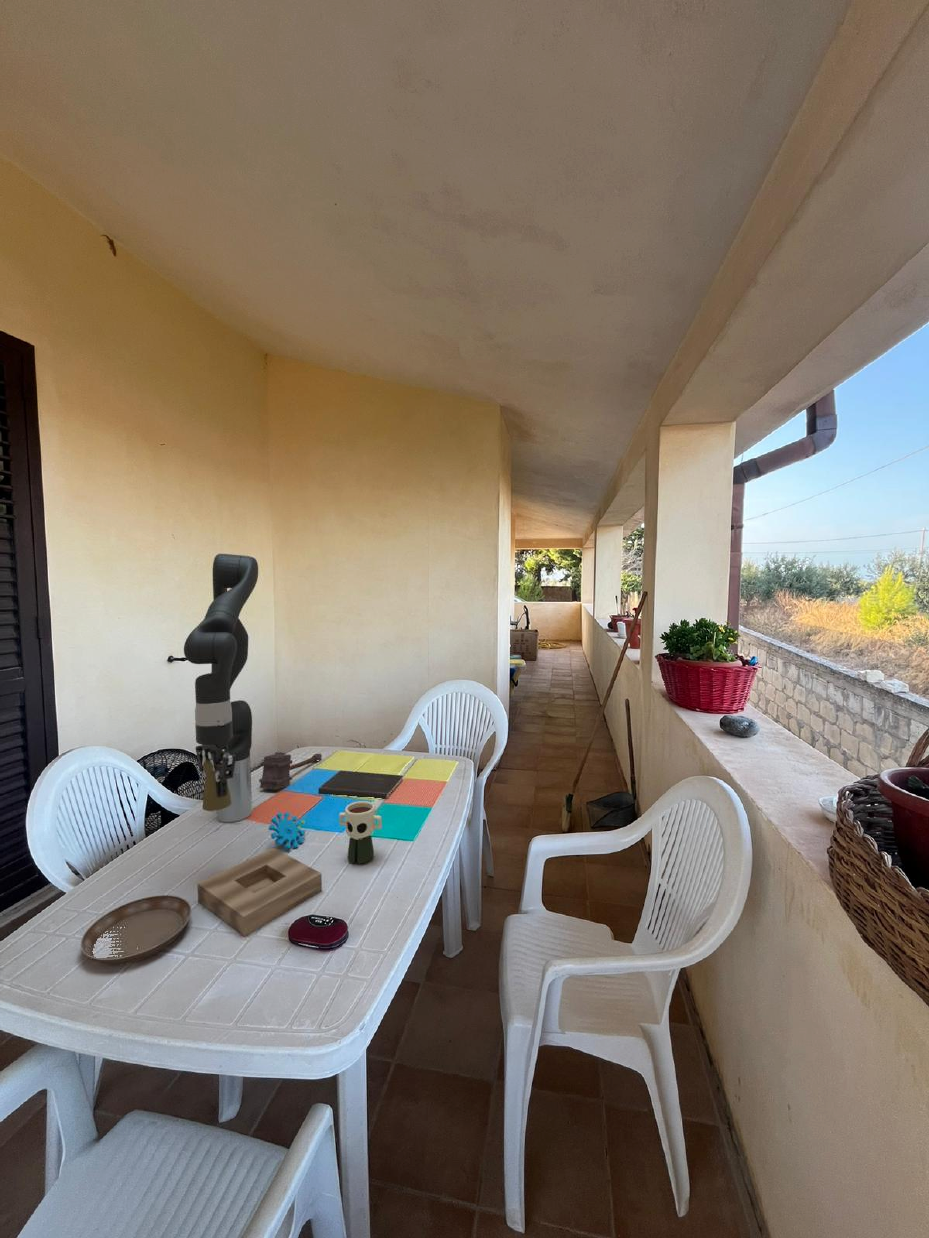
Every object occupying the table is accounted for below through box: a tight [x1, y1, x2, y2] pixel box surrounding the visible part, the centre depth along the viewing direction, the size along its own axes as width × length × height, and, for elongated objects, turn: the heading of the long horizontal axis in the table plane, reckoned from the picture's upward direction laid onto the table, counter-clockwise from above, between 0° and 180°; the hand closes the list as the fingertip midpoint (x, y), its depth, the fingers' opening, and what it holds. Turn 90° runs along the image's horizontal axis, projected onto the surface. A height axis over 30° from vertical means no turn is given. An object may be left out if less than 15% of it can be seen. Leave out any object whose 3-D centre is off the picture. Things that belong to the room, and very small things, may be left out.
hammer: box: [258, 753, 323, 791], centre depth 179 cm, size 7×33×10 cm, turn 166°
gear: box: [268, 811, 306, 850], centre depth 132 cm, size 11×6×10 cm
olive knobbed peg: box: [201, 759, 231, 812], centre depth 117 cm, size 6×6×11 cm
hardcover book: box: [317, 770, 404, 800], centre depth 168 cm, size 16×23×2 cm
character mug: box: [338, 800, 383, 864], centre depth 124 cm, size 11×7×13 cm, turn 79°
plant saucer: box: [80, 894, 192, 966], centre depth 97 cm, size 18×18×3 cm
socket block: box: [196, 847, 323, 937], centre depth 110 cm, size 18×18×4 cm
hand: (216, 793), depth 117 cm, fingers closed on olive knobbed peg, 4 cm apart
